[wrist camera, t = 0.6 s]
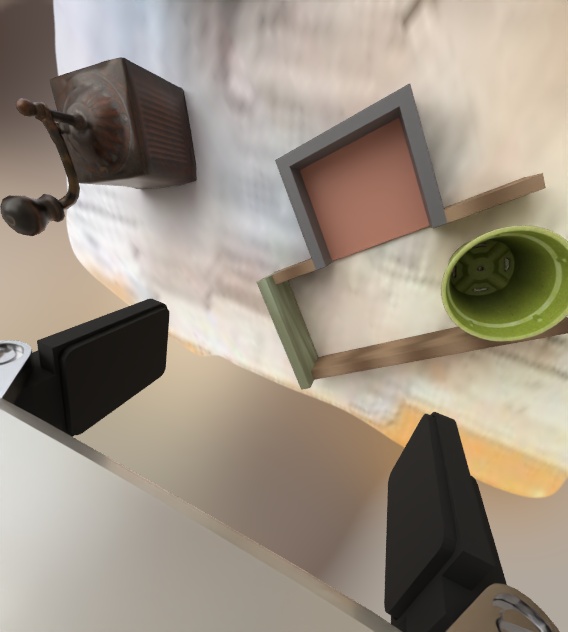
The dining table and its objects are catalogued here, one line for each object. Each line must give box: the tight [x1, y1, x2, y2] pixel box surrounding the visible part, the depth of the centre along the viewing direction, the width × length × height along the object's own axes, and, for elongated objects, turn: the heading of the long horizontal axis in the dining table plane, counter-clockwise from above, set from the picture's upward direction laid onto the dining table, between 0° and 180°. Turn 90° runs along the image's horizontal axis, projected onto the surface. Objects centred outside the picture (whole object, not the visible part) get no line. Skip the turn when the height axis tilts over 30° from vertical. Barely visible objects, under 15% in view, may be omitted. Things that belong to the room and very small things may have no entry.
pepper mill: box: [0, 58, 196, 236], centre depth 32 cm, size 16×11×18 cm
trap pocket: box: [275, 84, 447, 270], centre depth 31 cm, size 13×12×4 cm
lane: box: [257, 173, 568, 389], centre depth 32 cm, size 27×14×6 cm, turn 113°
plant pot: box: [441, 226, 568, 341], centre depth 27 cm, size 9×9×9 cm
